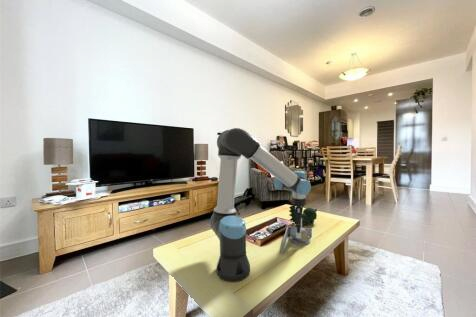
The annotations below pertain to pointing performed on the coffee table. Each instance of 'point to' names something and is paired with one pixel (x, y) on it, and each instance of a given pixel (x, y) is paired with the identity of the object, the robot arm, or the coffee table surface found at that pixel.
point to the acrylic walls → (289, 233)
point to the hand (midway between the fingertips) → (299, 233)
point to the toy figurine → (304, 215)
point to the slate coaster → (298, 241)
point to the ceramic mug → (303, 234)
